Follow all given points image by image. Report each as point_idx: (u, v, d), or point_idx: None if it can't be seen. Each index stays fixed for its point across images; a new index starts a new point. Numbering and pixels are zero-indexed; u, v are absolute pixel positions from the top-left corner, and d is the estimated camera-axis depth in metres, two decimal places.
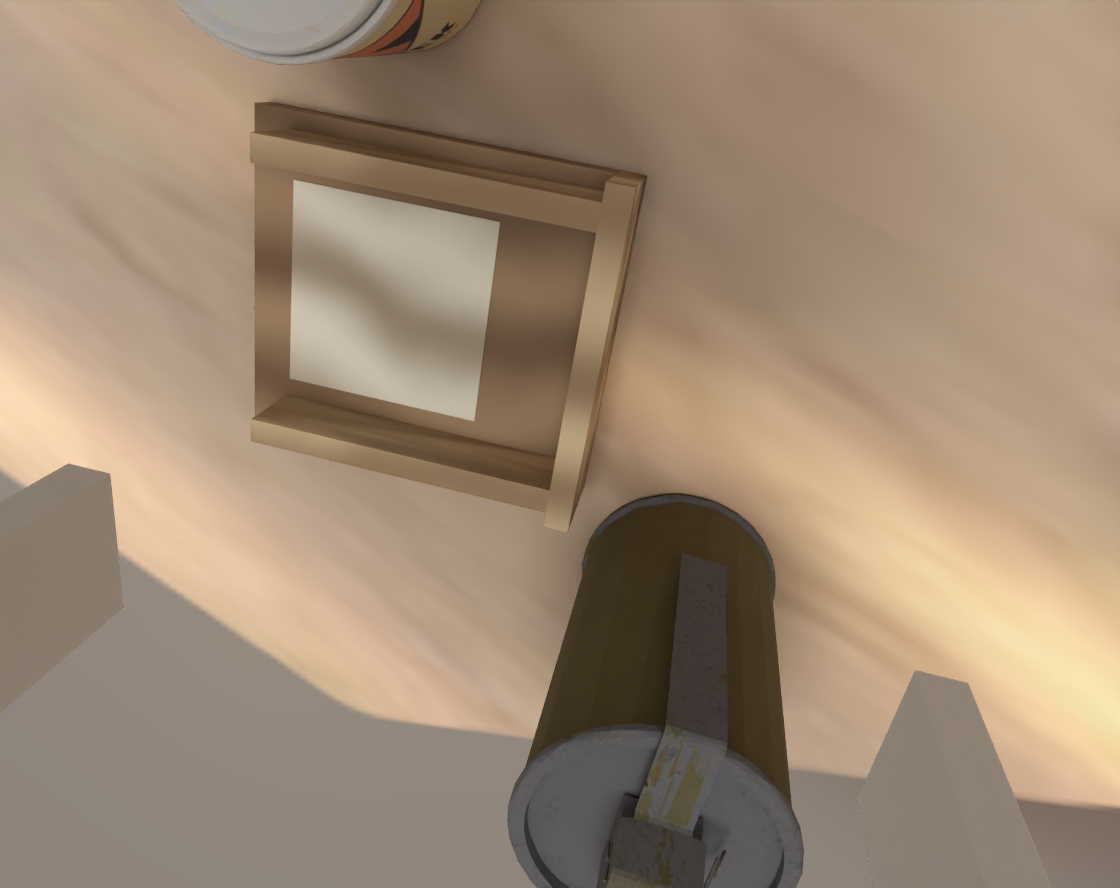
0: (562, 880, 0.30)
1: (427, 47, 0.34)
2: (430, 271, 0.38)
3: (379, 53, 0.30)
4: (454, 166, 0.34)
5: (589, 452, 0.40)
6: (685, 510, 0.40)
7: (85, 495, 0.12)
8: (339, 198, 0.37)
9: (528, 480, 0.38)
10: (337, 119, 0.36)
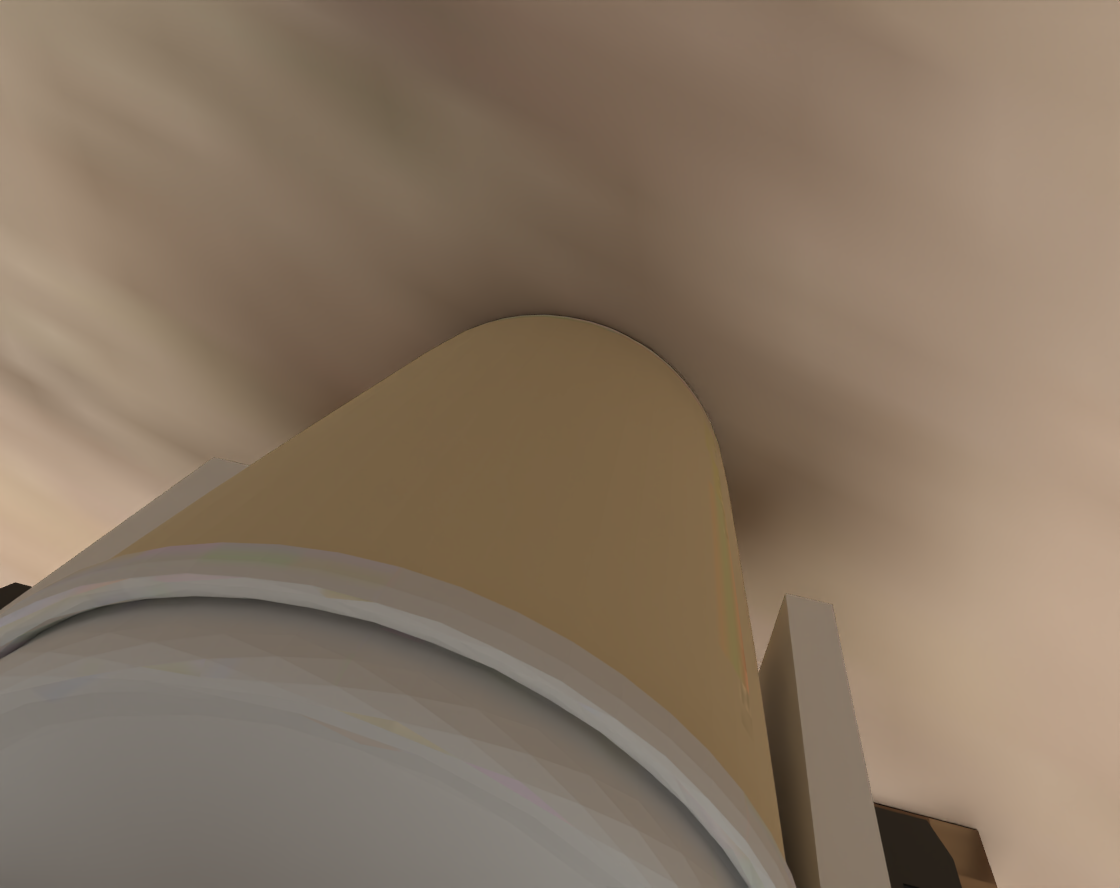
0: None
1: None
2: None
3: None
4: None
5: None
6: None
7: None
8: None
9: None
10: None
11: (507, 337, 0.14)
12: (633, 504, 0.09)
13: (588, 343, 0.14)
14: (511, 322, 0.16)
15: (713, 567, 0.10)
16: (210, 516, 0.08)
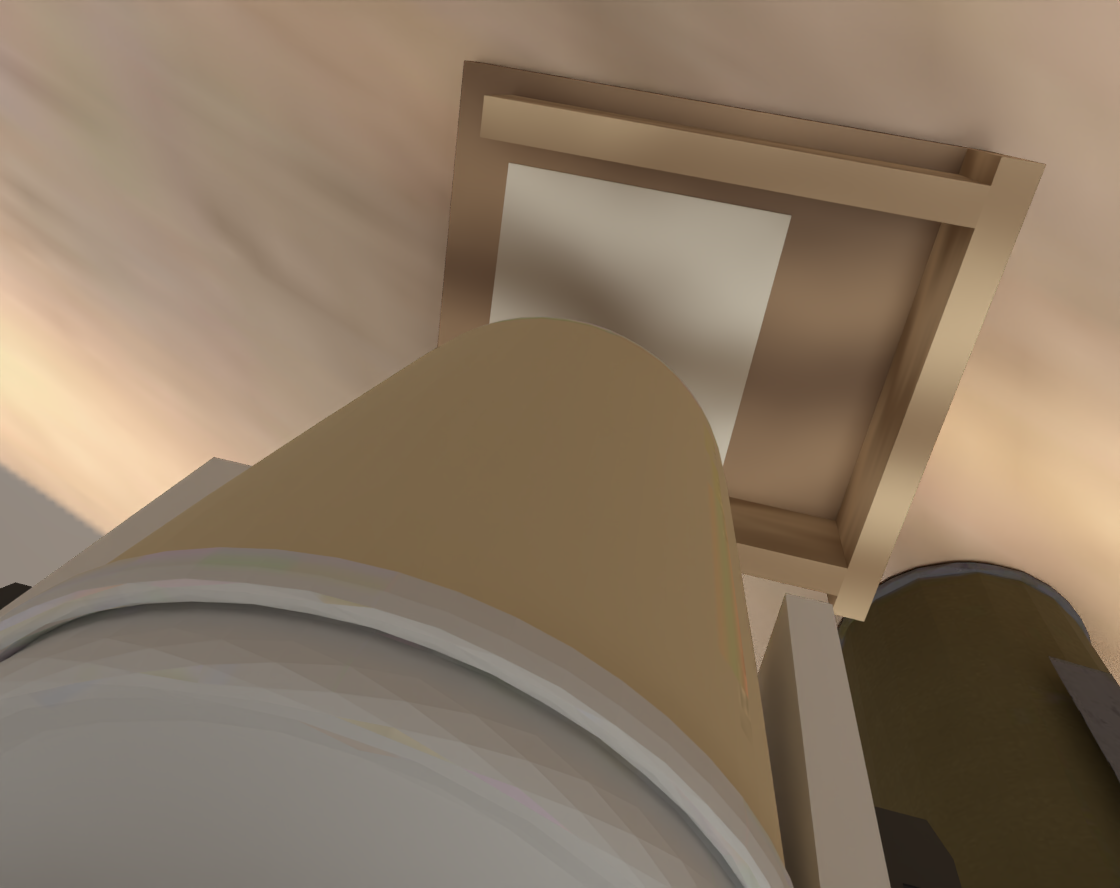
0: None
1: None
2: (684, 281, 0.29)
3: None
4: (753, 140, 0.25)
5: None
6: (993, 585, 0.31)
7: None
8: (569, 186, 0.28)
9: (814, 553, 0.29)
10: (576, 81, 0.27)
11: (506, 339, 0.14)
12: (632, 507, 0.09)
13: (587, 345, 0.14)
14: (510, 324, 0.16)
15: (712, 570, 0.10)
16: (208, 520, 0.08)
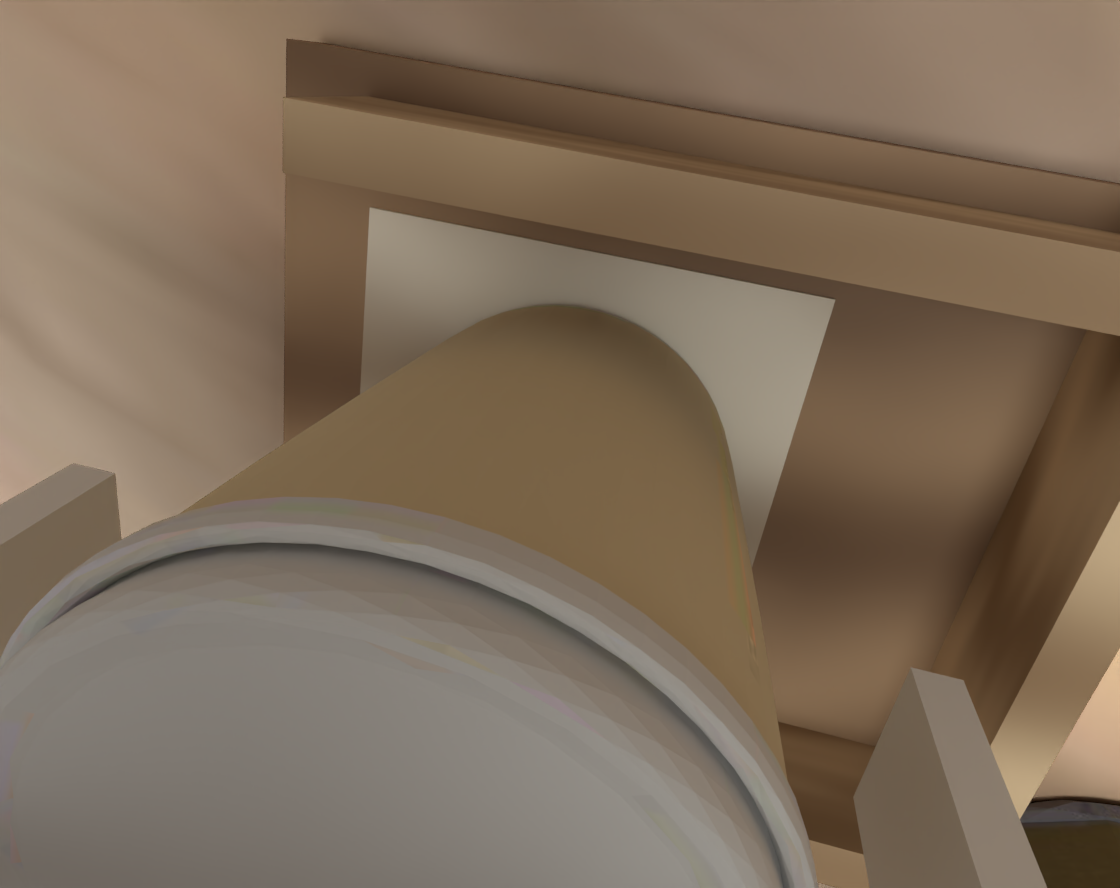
0: None
1: None
2: None
3: None
4: (775, 177, 0.14)
5: None
6: None
7: (90, 495, 0.13)
8: (468, 246, 0.17)
9: None
10: (473, 73, 0.16)
11: (524, 324, 0.15)
12: (648, 473, 0.10)
13: (601, 330, 0.15)
14: (526, 311, 0.16)
15: (722, 534, 0.11)
16: (265, 478, 0.08)
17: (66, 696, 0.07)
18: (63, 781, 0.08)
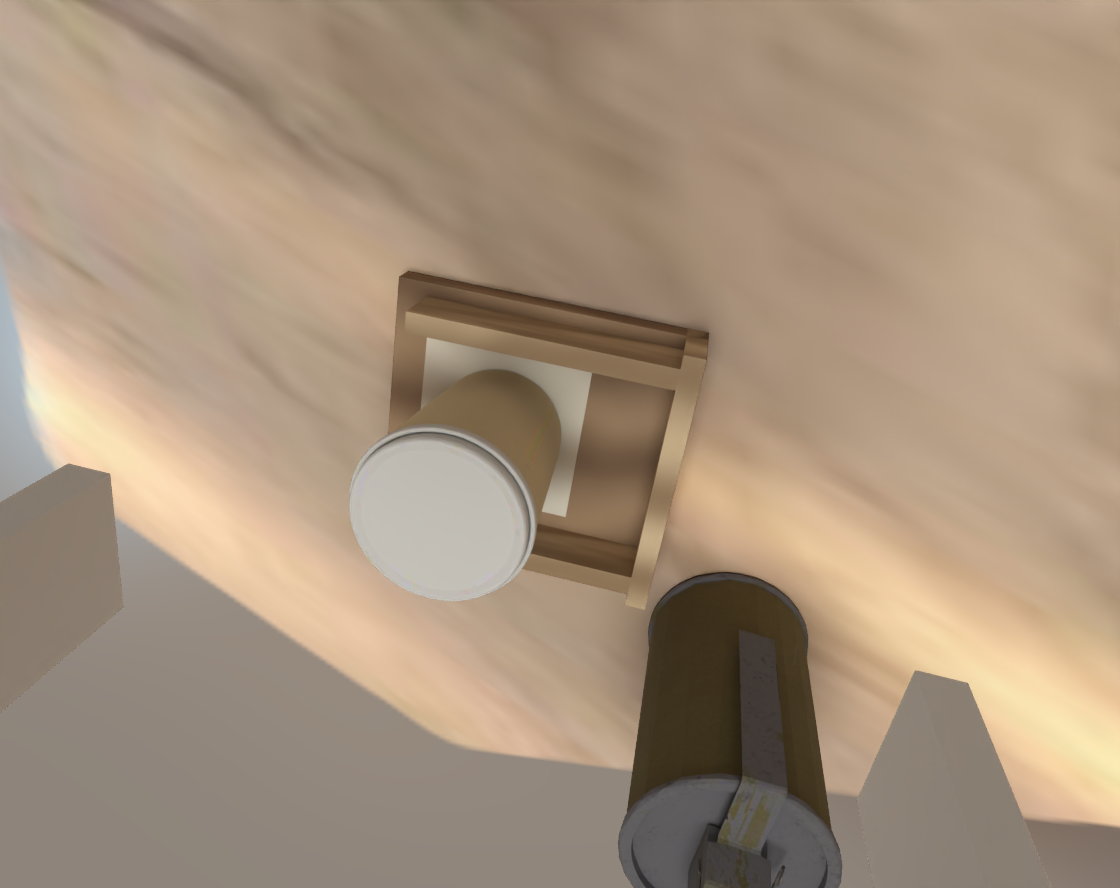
0: (657, 887, 0.40)
1: None
2: None
3: None
4: (561, 333, 0.44)
5: None
6: (736, 587, 0.50)
7: (85, 495, 0.12)
8: (463, 348, 0.47)
9: (613, 568, 0.48)
10: (465, 290, 0.46)
11: (482, 379, 0.45)
12: (508, 423, 0.40)
13: (508, 380, 0.45)
14: (484, 372, 0.46)
15: (530, 440, 0.40)
16: (417, 422, 0.38)
17: (381, 463, 0.37)
18: (376, 485, 0.38)
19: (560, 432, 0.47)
